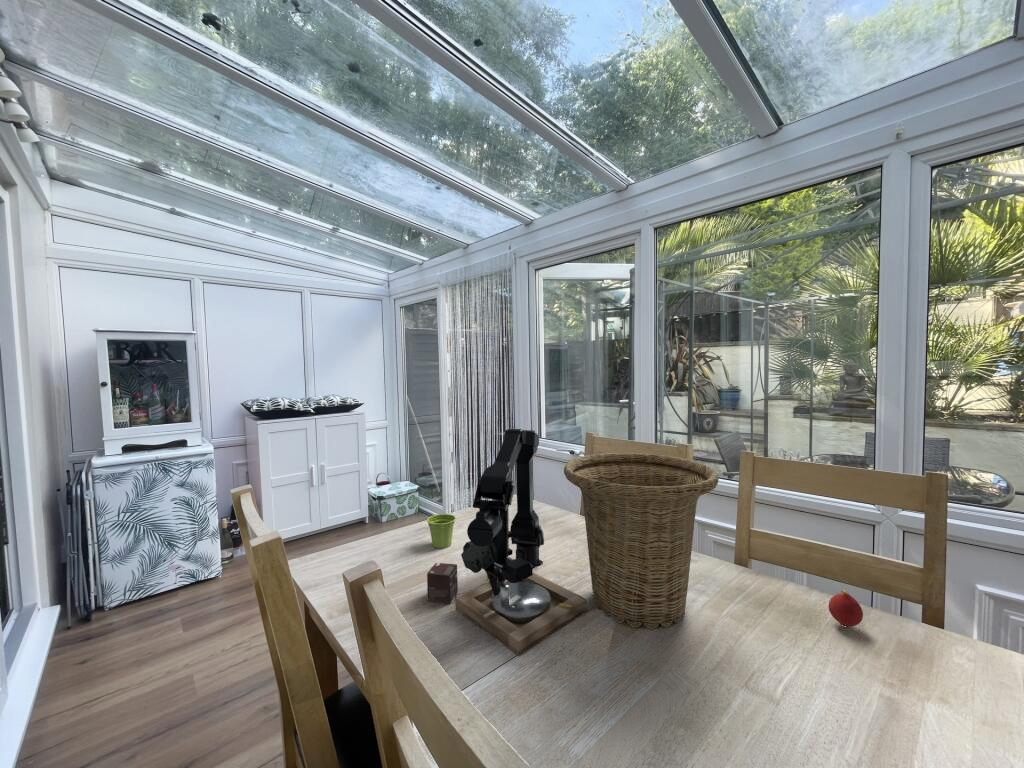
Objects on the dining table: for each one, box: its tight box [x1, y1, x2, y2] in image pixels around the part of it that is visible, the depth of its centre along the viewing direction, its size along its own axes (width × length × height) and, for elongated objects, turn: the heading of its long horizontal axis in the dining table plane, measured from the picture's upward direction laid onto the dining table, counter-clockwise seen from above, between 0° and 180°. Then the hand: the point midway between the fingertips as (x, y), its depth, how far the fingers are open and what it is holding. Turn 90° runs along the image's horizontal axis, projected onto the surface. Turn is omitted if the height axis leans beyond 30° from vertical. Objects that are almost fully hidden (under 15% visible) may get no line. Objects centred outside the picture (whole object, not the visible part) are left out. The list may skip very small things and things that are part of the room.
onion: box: [827, 589, 864, 628], centre depth 91 cm, size 6×6×8 cm
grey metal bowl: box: [491, 582, 551, 624], centre depth 98 cm, size 14×14×7 cm
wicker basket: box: [563, 452, 719, 630], centre depth 101 cm, size 35×35×33 cm
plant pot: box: [426, 513, 457, 549], centre depth 136 cm, size 9×9×9 cm
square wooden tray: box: [454, 572, 588, 657], centre depth 98 cm, size 22×22×3 cm
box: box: [426, 562, 459, 605], centre depth 105 cm, size 6×6×7 cm
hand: (496, 594), depth 96 cm, fingers closed
